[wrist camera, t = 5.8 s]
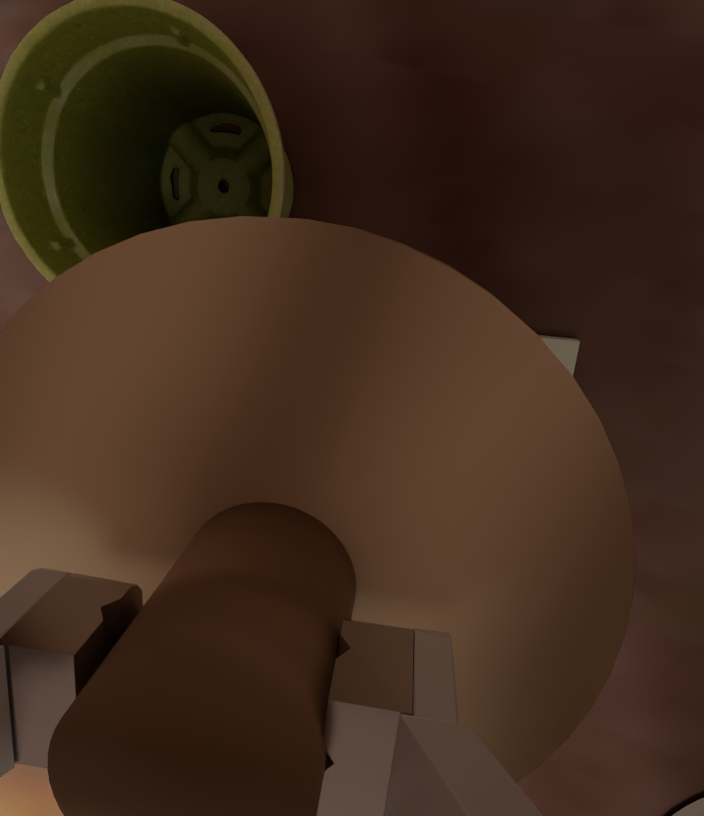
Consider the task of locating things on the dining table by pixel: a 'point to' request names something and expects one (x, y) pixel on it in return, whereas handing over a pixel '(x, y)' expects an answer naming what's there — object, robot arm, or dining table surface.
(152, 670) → the lid
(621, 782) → the dining table surface
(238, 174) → the plant pot
